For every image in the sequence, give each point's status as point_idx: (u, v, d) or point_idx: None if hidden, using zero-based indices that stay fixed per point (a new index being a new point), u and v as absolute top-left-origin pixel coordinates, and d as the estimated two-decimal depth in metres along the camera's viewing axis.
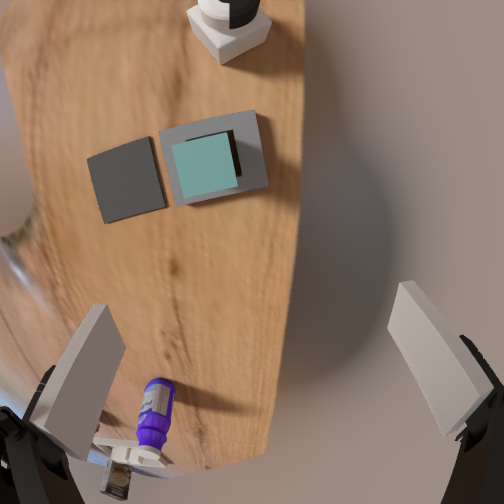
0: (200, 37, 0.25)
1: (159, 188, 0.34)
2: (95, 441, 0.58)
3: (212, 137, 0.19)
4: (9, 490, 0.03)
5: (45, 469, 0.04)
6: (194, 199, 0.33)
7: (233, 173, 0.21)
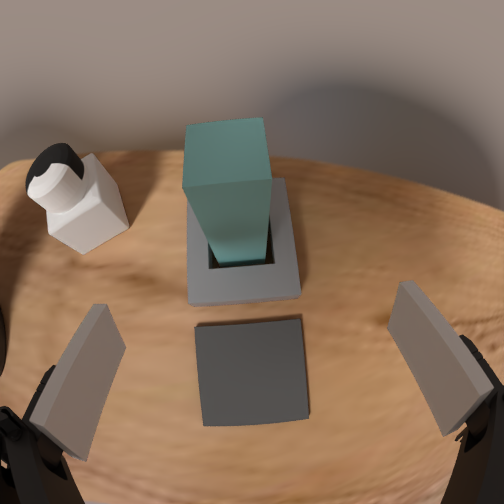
0: (89, 239, 0.26)
1: (272, 323, 0.25)
2: None
3: (188, 138, 0.14)
4: (9, 490, 0.03)
5: (45, 469, 0.04)
6: (293, 267, 0.24)
7: (243, 120, 0.14)
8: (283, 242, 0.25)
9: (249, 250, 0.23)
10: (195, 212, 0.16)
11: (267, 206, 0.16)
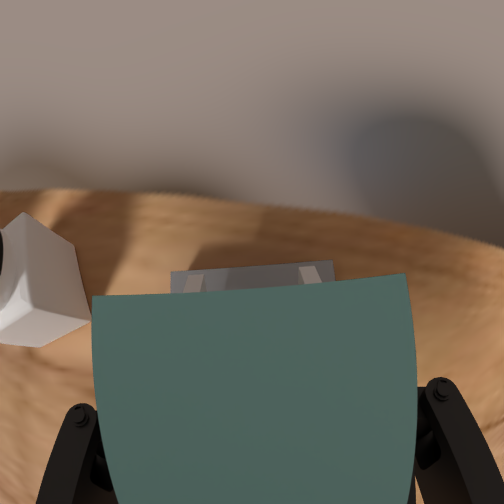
0: (39, 337, 0.15)
1: None
2: None
3: (102, 377, 0.03)
4: (93, 490, 0.04)
5: None
6: None
7: (335, 291, 0.03)
8: None
9: None
10: None
11: None
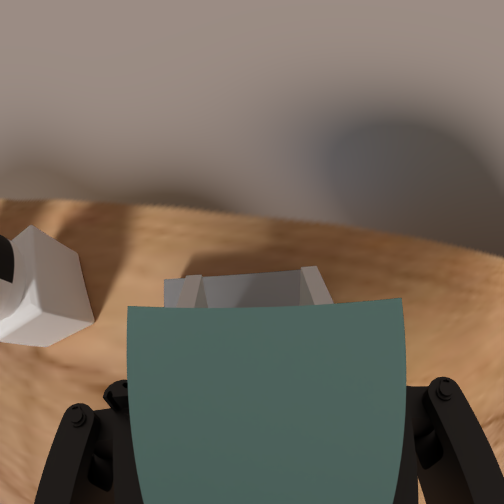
0: (46, 338, 0.17)
1: None
2: None
3: (136, 380, 0.03)
4: (90, 490, 0.04)
5: None
6: None
7: (343, 311, 0.04)
8: None
9: None
10: None
11: None
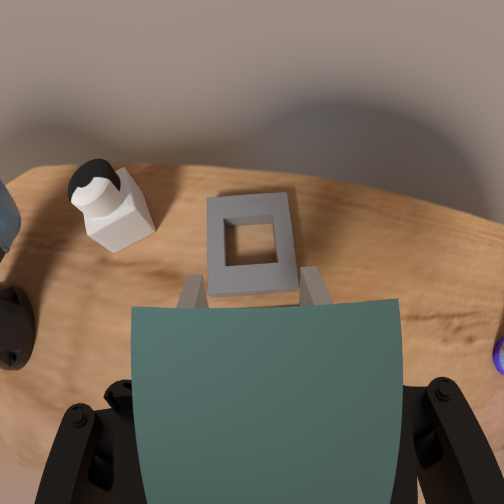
0: (120, 240, 0.32)
1: None
2: None
3: (140, 378, 0.04)
4: (91, 490, 0.04)
5: None
6: (293, 265, 0.31)
7: (341, 312, 0.04)
8: (284, 245, 0.31)
9: None
10: None
11: None
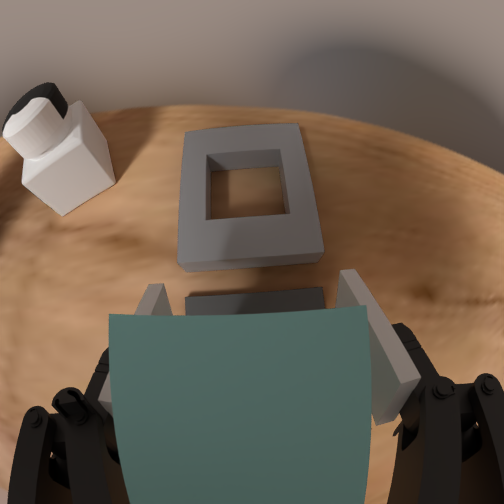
0: (68, 194, 0.21)
1: (286, 292, 0.19)
2: None
3: (117, 379, 0.04)
4: (53, 486, 0.04)
5: (109, 459, 0.05)
6: (313, 218, 0.19)
7: (304, 319, 0.04)
8: (299, 189, 0.20)
9: None
10: None
11: None
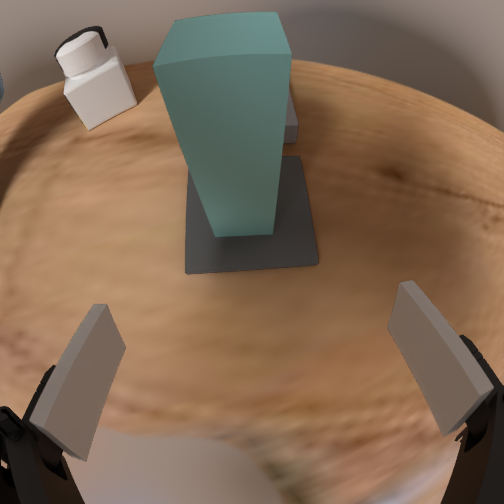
0: (97, 109, 0.24)
1: None
2: None
3: (174, 28, 0.08)
4: (9, 490, 0.03)
5: (45, 469, 0.04)
6: (289, 107, 0.23)
7: (251, 12, 0.08)
8: None
9: (254, 207, 0.17)
10: (173, 121, 0.09)
11: (282, 115, 0.09)
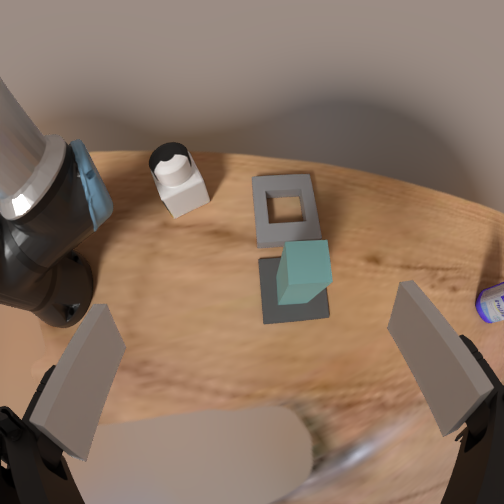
0: (184, 206, 0.44)
1: None
2: None
3: (287, 252, 0.27)
4: (9, 490, 0.03)
5: (45, 469, 0.04)
6: (316, 223, 0.42)
7: (317, 241, 0.27)
8: (310, 210, 0.43)
9: (302, 299, 0.36)
10: (286, 290, 0.29)
11: (324, 287, 0.29)
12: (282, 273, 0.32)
